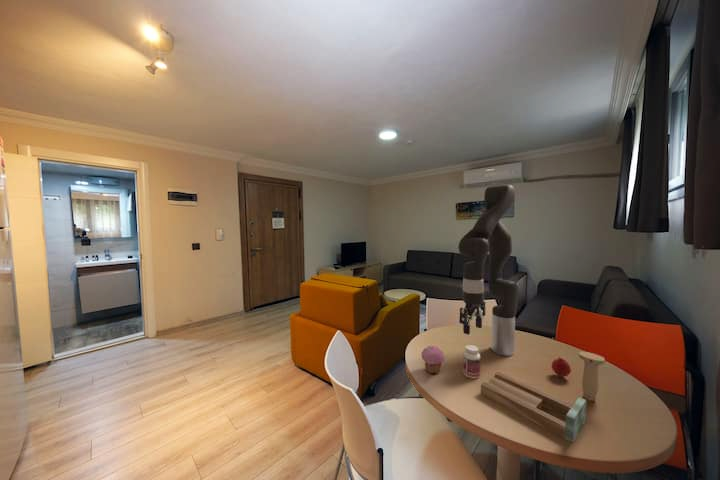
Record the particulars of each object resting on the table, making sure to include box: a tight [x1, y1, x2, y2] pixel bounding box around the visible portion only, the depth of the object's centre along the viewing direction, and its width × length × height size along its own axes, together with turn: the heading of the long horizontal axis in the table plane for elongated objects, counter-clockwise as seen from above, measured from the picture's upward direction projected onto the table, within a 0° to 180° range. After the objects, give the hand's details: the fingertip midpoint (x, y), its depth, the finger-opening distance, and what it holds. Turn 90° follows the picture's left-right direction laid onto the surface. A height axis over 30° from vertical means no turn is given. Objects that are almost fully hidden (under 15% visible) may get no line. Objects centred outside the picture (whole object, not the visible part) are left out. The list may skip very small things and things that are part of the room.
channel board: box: [480, 371, 587, 444], centre depth 86 cm, size 12×26×7 cm, turn 37°
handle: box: [578, 351, 606, 402], centre depth 89 cm, size 5×6×15 cm
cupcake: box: [421, 345, 445, 374], centre depth 106 cm, size 9×9×10 cm
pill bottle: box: [462, 344, 481, 380], centre depth 103 cm, size 6×6×11 cm
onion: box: [551, 356, 572, 378], centre depth 101 cm, size 6×6×8 cm
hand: (472, 330), depth 102 cm, fingers open, 8 cm apart
